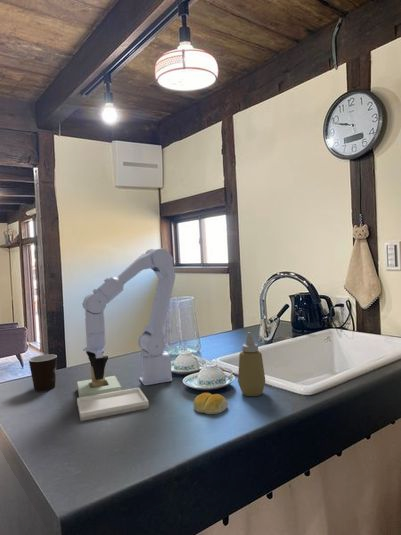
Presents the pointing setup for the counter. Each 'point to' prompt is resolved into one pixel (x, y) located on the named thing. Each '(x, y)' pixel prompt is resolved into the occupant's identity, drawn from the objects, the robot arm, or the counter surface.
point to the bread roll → (210, 403)
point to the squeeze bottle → (251, 369)
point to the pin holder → (87, 389)
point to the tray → (111, 403)
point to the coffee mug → (43, 372)
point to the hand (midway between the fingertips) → (97, 375)
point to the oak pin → (97, 382)
